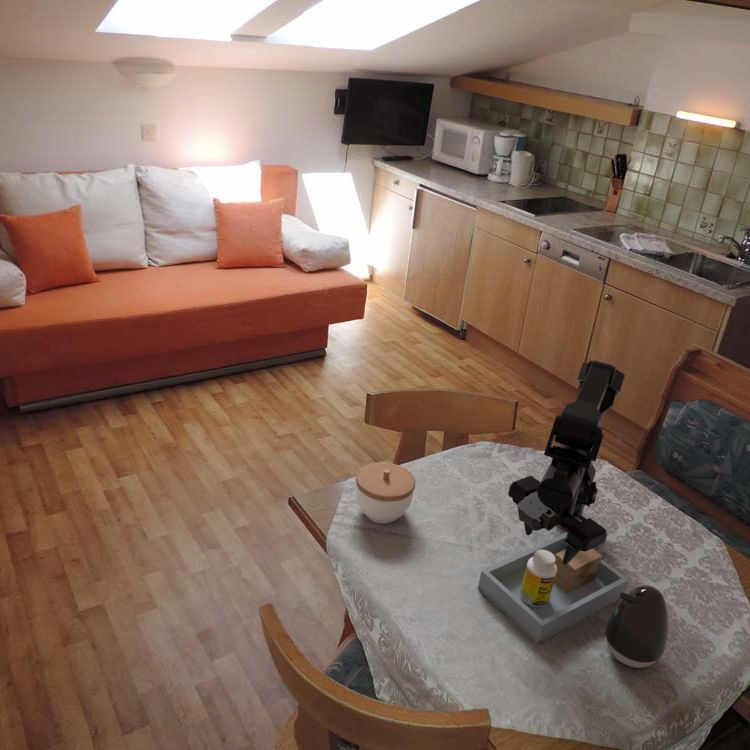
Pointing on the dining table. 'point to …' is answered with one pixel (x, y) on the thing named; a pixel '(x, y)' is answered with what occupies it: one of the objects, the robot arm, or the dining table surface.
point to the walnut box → (577, 569)
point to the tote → (562, 607)
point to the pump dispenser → (639, 627)
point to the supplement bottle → (539, 579)
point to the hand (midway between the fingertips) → (546, 548)
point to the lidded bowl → (384, 491)
